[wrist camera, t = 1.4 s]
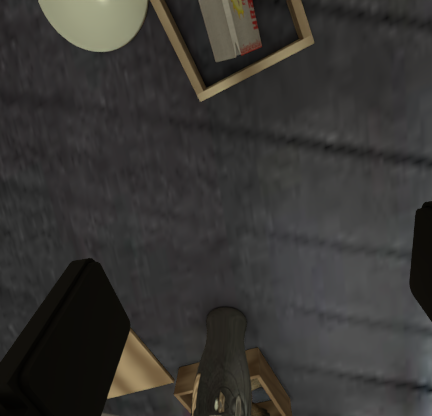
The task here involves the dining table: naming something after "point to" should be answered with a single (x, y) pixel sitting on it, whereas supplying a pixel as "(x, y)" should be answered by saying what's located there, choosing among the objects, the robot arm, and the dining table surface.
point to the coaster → (96, 21)
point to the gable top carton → (230, 27)
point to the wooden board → (137, 369)
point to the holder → (204, 93)
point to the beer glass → (223, 368)
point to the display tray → (258, 369)
